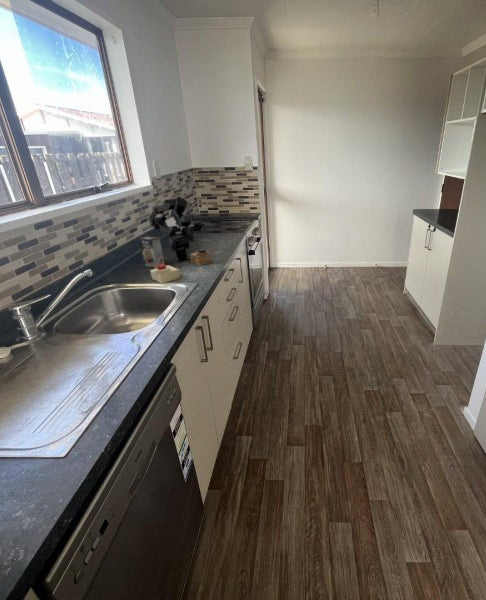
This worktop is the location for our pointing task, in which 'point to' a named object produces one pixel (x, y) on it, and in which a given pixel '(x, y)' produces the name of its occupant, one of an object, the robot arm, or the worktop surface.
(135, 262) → the worktop surface
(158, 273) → the cream block
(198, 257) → the oak block
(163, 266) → the knob
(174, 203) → the robot arm
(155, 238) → the coffee box
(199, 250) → the knob
